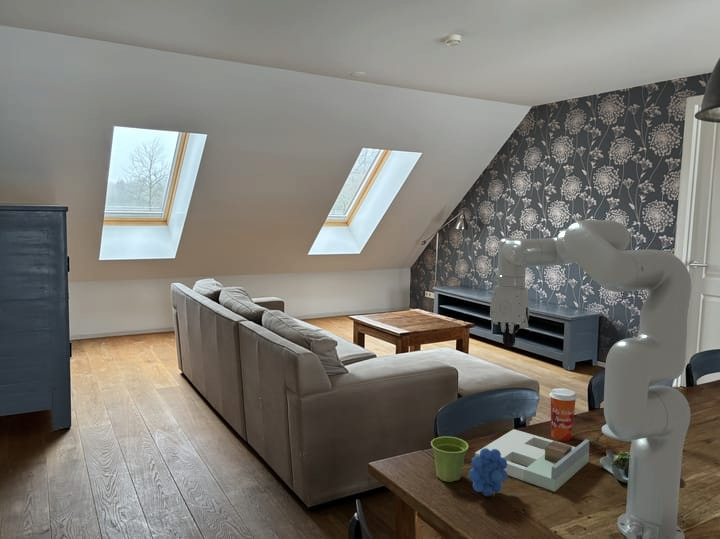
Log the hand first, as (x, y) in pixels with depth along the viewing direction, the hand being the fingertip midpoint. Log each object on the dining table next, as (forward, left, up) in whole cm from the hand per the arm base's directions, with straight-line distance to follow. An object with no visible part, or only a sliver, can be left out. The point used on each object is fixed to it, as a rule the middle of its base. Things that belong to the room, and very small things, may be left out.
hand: (508, 345), depth 159 cm
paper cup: (+16, -10, -29) cm, 35 cm away
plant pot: (-28, +1, -29) cm, 41 cm away
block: (-6, -18, -26) cm, 32 cm away
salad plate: (+7, -34, -30) cm, 46 cm away
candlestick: (+32, -23, -29) cm, 49 cm away
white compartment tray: (-6, -11, -29) cm, 32 cm away
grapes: (-30, -12, -29) cm, 44 cm away
